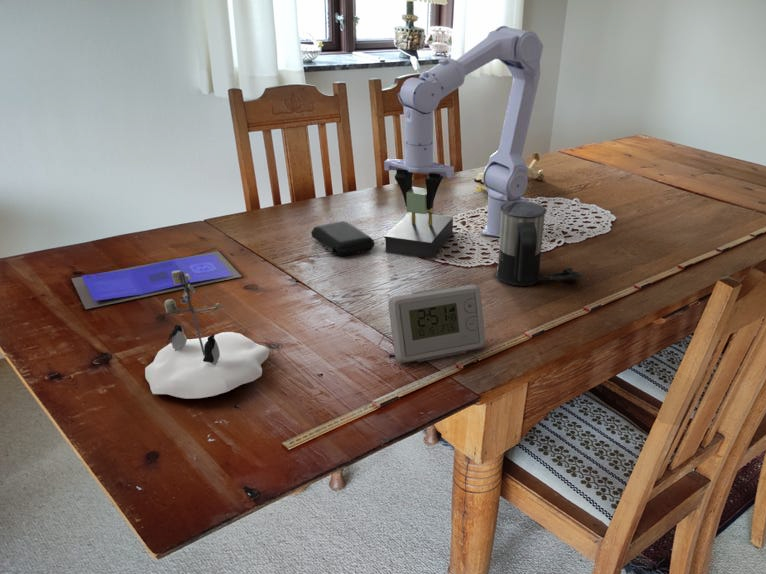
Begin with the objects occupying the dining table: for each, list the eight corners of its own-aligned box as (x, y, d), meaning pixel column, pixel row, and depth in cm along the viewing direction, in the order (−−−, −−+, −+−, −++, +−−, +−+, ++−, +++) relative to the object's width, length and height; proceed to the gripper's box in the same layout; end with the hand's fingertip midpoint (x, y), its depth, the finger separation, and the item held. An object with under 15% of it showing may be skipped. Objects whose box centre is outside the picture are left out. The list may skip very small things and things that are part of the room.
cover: (431, 245, 146) (431, 224, 144) (384, 238, 148) (383, 217, 146) (453, 219, 160) (453, 199, 158) (409, 213, 162) (409, 193, 160)
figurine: (289, 377, 105) (272, 277, 97) (164, 416, 95) (135, 308, 88) (246, 333, 119) (228, 243, 112) (134, 364, 110) (106, 267, 103)
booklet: (233, 275, 136) (232, 272, 136) (94, 304, 124) (93, 301, 123) (213, 254, 145) (213, 251, 144) (82, 278, 132) (81, 275, 132)
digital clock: (392, 367, 110) (391, 309, 105) (386, 340, 118) (384, 284, 112) (490, 359, 114) (493, 302, 108) (478, 333, 121) (481, 278, 116)
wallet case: (431, 258, 148) (431, 244, 147) (385, 252, 150) (385, 237, 149) (452, 233, 162) (452, 219, 160) (410, 227, 164) (409, 213, 162)
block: (431, 208, 148) (431, 189, 146) (425, 214, 145) (425, 195, 142) (413, 205, 149) (413, 186, 147) (406, 211, 145) (406, 192, 143)
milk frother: (488, 270, 144) (492, 202, 137) (554, 261, 150) (561, 195, 142) (518, 300, 134) (524, 227, 126) (587, 289, 139) (597, 219, 131)
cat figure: (523, 177, 206) (463, 186, 190) (527, 148, 202) (466, 154, 186) (548, 186, 201) (489, 195, 184) (552, 155, 196) (492, 162, 180)
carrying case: (304, 238, 155) (334, 261, 145) (302, 225, 153) (333, 247, 143) (346, 229, 160) (378, 251, 151) (345, 217, 159) (378, 238, 149)
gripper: (378, 143, 137) (380, 208, 144) (447, 150, 135) (446, 217, 142) (390, 134, 143) (392, 198, 150) (457, 142, 140) (455, 206, 148)
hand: (419, 206), depth 146 cm, fingers closed on block, 4 cm apart
